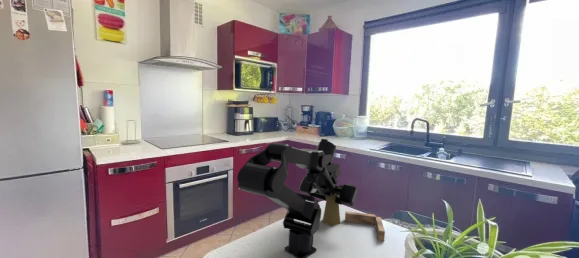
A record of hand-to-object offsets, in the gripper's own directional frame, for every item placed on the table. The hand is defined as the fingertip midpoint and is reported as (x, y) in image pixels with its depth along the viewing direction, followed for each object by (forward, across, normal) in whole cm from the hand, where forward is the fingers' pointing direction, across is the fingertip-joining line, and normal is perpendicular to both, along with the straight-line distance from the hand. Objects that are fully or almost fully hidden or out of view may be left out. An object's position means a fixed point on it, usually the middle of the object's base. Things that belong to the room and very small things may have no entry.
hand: (334, 201), depth 91 cm
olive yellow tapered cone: (+4, 0, +6) cm, 7 cm away
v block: (+6, -12, +3) cm, 14 cm away
